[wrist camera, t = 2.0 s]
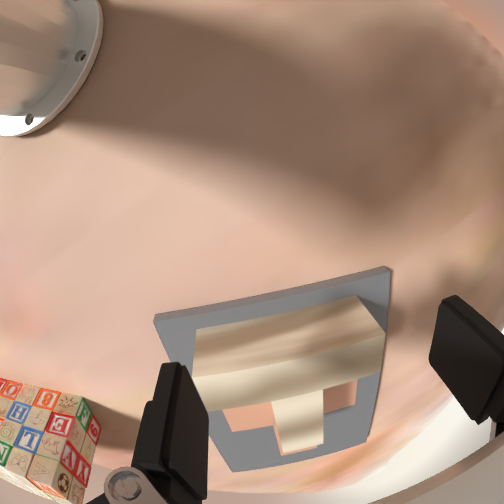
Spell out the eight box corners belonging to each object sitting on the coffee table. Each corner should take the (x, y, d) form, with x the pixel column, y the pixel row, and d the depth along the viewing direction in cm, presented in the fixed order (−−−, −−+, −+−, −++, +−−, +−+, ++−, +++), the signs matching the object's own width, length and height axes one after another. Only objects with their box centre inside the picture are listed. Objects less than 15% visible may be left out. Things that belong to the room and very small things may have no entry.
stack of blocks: (-11, 397, 24) (-40, 453, 13) (-30, 366, 22) (-67, 422, 11) (103, 428, 26) (82, 512, 15) (84, 395, 24) (51, 489, 13)
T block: (196, 329, 20) (191, 377, 16) (355, 294, 21) (385, 333, 16) (231, 418, 25) (234, 460, 20) (351, 391, 25) (369, 429, 20)
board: (155, 314, 21) (152, 321, 20) (384, 266, 21) (390, 271, 20) (231, 466, 31) (232, 472, 30) (363, 436, 31) (366, 442, 30)
